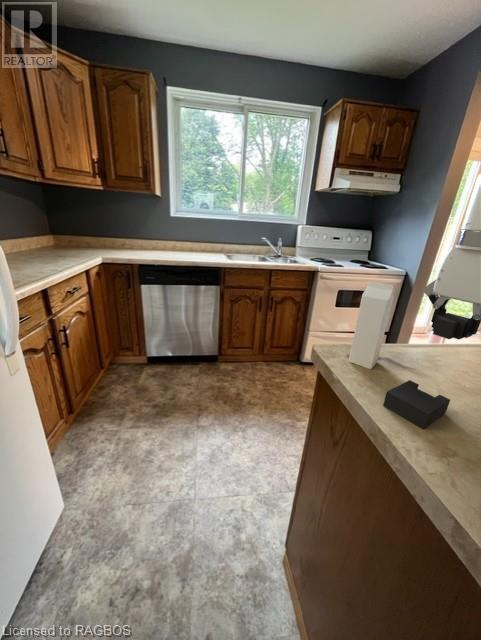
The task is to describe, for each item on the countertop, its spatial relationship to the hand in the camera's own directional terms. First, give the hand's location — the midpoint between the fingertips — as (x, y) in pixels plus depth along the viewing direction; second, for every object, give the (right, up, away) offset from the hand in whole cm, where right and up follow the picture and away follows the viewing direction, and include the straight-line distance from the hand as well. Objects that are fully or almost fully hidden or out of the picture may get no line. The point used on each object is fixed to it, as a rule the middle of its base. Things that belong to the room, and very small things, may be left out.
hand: (451, 330), depth 57 cm
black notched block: (-8, -16, -1) cm, 18 cm away
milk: (-10, -9, +18) cm, 23 cm away
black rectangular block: (0, -1, 0) cm, 1 cm away
